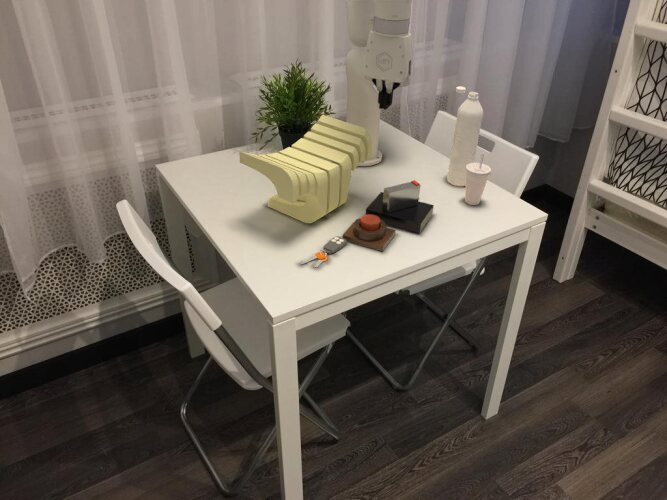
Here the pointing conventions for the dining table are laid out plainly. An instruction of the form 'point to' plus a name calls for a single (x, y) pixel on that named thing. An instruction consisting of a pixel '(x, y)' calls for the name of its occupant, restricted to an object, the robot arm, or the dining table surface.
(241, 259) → the dining table surface
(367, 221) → the button
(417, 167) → the dining table surface
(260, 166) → the slatted curved stool
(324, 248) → the key chain
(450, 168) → the water bottle
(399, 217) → the plate
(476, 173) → the smoothie
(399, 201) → the silver metal block
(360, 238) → the button block
